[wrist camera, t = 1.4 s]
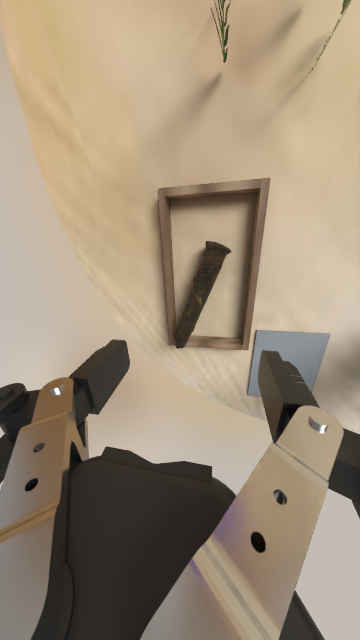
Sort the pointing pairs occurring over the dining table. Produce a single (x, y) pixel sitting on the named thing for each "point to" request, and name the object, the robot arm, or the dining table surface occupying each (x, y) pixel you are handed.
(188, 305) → the hand tool
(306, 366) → the mat
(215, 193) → the wooden frame
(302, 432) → the robot arm
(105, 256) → the dining table surface
